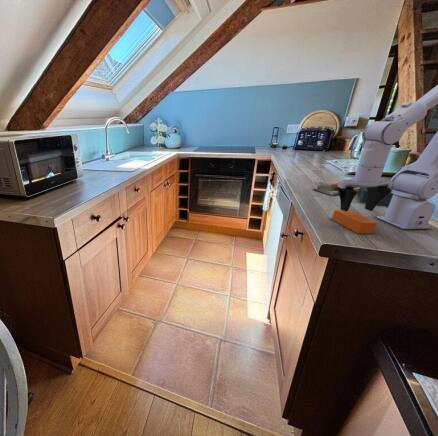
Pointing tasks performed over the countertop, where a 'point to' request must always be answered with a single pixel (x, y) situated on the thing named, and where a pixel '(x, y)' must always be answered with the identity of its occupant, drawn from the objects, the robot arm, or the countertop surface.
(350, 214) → the block
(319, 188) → the packaged product
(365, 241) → the countertop surface
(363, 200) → the dark grey open box
